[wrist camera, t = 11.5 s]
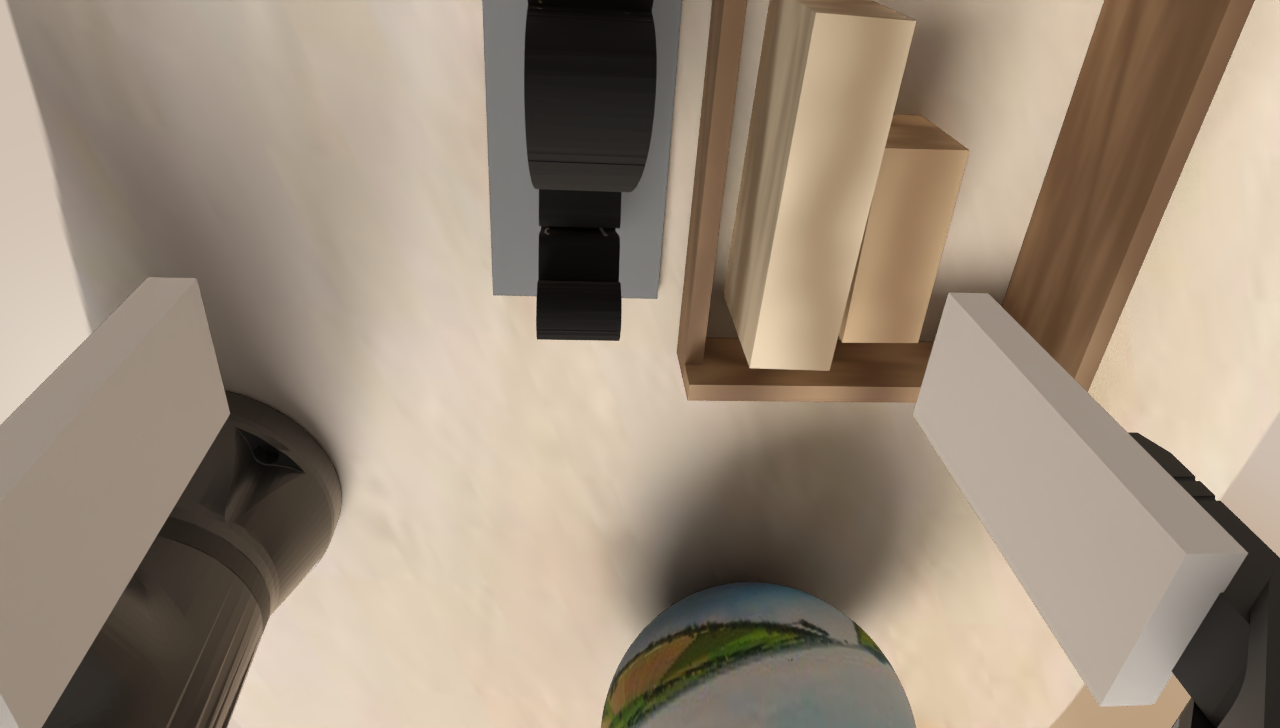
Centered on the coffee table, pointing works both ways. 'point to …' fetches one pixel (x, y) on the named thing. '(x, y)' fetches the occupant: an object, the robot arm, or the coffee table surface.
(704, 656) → the decorative sphere
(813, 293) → the block
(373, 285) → the coffee table surface
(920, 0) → the coffee table surface
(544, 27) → the sign
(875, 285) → the offcut short
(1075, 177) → the tray
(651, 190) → the felt mat
